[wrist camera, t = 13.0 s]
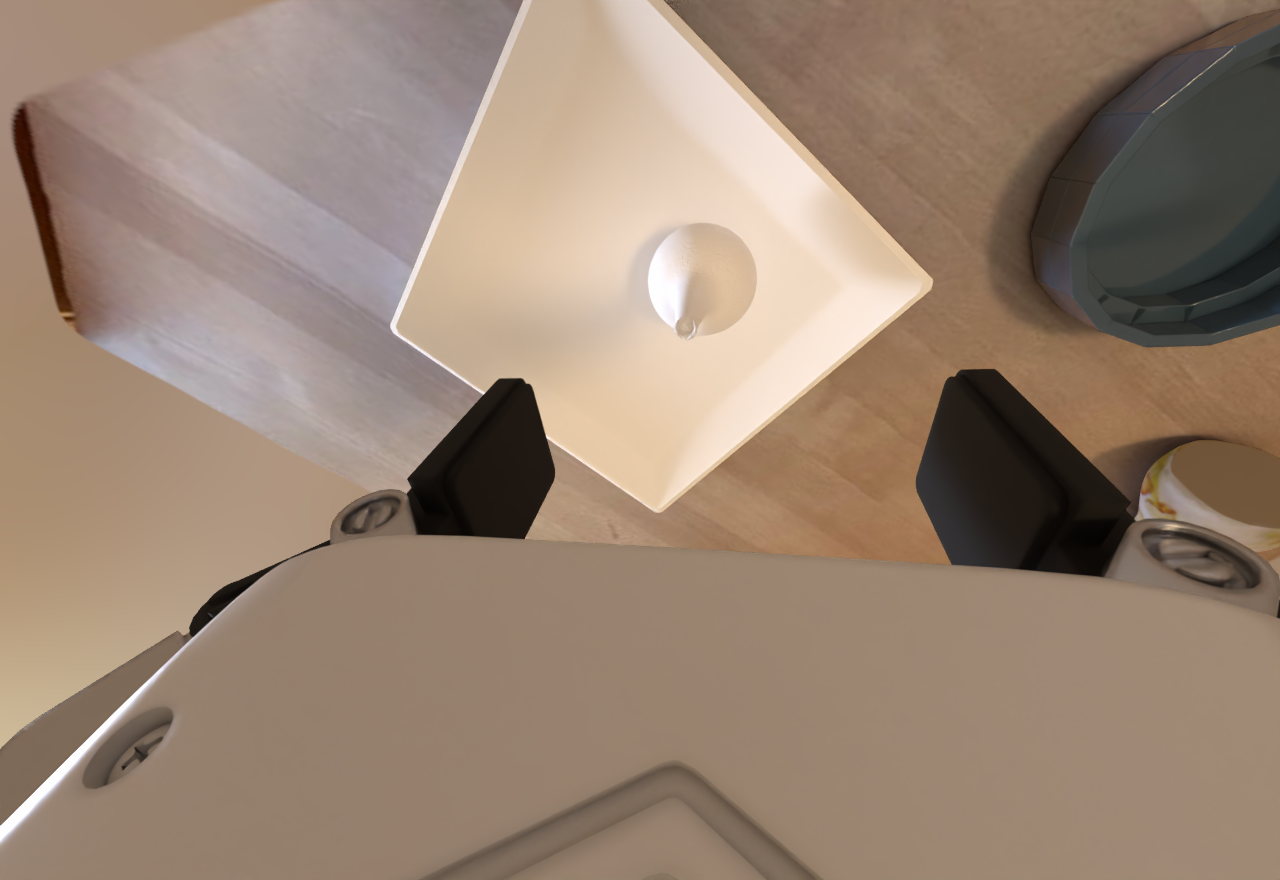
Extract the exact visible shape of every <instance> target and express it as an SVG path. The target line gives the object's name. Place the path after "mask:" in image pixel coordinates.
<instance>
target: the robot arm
mask: <svg viewBox="0 0 1280 880" xmlns="http://www.w3.org/2000/svg"><path fill="white" fill-rule="evenodd" d="M554 478H555V467H554V463H553V460H552V456H551V452H550V449H549V445H548V441H547V438H546V434H545V431H544V427H543V423H542V420H541V416H540V412H539V409H538V405H537V401H536V398H535V394H534V390H533V388H532V386H531V385H530V384H526V382H525V381H524V379H522V378H499V379H498V380H497V381H496V382H495V383H494V384H493V385H492V386H491V387H490V388H489V389H488V391H487V392H486V393H485V394H484V395H483V396H482V397H481V398H480V399H479V400H478V402H477V403H476V404H475V405H474V406H473V407H472V408H471V409H470V410H469V411H468V413H467V414H466V415H465V416H464V417H463V418H462V419H461V420H460V421H459V422H458V423H457V425H456V426H455V427H454V428H453V429H452V430H451V431H450V432H449V433H448V434H447V436H446V437H445V438H444V439H443V440H442V441H441V442H440V443H439V444H438V445H437V447H436V448H435V449H434V450H433V451H432V452H431V453H430V454H429V455H428V456H427V458H426V459H425V460H424V461H423V462H422V463H421V464H420V465H419V466H418V467H417V469H416V470H415V471H414V472H413V473H412V474H411V475H410V476H409V477H408V478H407V480H408V482H409V483H410V485H411V487H412V488H411V489H410V490H409V492H408V493H407V494H406V493H404V492H402V491H400V490H394V489H388V490H380V491H377V492H373V493H370V494H368V495H365V496H363V497H361V498H359V499H357V500H355V501H354V502H352V503H351V504H349V505H347V506H346V507H345V508H344V509H343V510H342V511H341V512H339V513H338V515H337V516H336V517H335V519H334V520H333V522H332V525H331V530H330V540H328V541H326V542H324V543H322V544H319V545H317V546H315V547H313V548H310V549H308V550H306V551H304V552H301V553H299V554H297V555H295V556H292V557H290V558H288V559H286V560H284V561H281V562H279V563H277V564H275V565H273V566H270V567H268V568H266V569H264V570H261V571H259V572H257V573H255V574H252V575H250V576H248V577H245V578H243V579H241V580H239V581H236V582H233V583H231V584H228V585H227V586H225V587H223V588H222V589H220V590H219V591H217V592H216V593H215V594H214V595H213V596H212V597H211V598H210V599H209V600H208V601H207V603H205V604H204V605H203V606H202V607H201V608H200V610H199V611H198V613H197V614H196V615H195V616H194V617H193V620H192V622H191V625H190V627H189V629H190V632H189V633H188V634H186V635H184V636H183V635H182V634H181V633H180V632H179V631H176V632H175V633H173V634H171V635H170V636H168V637H166V638H165V639H163V640H162V641H160V642H159V643H157V644H155V645H154V646H152V647H150V648H149V649H147V650H145V651H144V652H142V653H141V654H139V655H138V656H136V657H134V658H133V659H131V660H129V661H128V662H126V663H125V664H123V665H121V666H120V667H118V668H117V669H115V670H113V671H112V672H110V673H108V674H107V675H105V676H104V677H102V678H100V679H99V680H97V681H96V682H94V683H92V684H91V685H89V686H88V687H86V688H84V689H83V690H81V691H79V692H78V693H76V694H75V695H73V696H71V697H70V698H68V699H66V700H65V701H63V702H62V703H60V704H58V705H57V706H55V707H54V708H52V709H50V710H49V711H47V712H45V713H44V714H42V715H41V716H39V717H38V718H37V719H35V720H34V721H32V722H31V723H30V724H28V725H27V726H25V727H24V728H22V729H21V730H20V731H19V732H18V733H17V734H15V735H14V736H13V737H12V738H11V739H10V740H9V741H8V742H7V743H6V744H5V745H4V746H3V747H2V748H1V749H0V880H1280V600H1279V598H1280V580H1279V576H1278V574H1277V573H1276V571H1275V570H1274V569H1273V568H1272V567H1271V565H1270V564H1269V563H1268V562H1267V561H1266V560H1265V559H1263V558H1262V557H1261V556H1259V555H1258V554H1257V553H1255V552H1254V551H1253V550H1251V549H1250V548H1248V547H1246V546H1245V545H1243V544H1241V543H1239V542H1237V541H1236V540H1234V539H1232V538H1230V537H1228V536H1225V535H1223V534H1221V533H1218V532H1216V531H1213V530H1211V529H1208V528H1205V527H1202V526H1198V525H1195V524H1191V523H1188V522H1184V521H1178V520H1171V519H1165V518H1148V519H1143V520H1139V521H1136V520H1135V519H1134V518H1133V517H1132V516H1131V515H1130V514H1129V513H1128V512H1127V511H1126V509H1127V507H1128V506H1129V504H1130V503H1131V502H1130V501H1129V500H1128V499H1127V498H1126V497H1125V496H1124V495H1123V494H1122V493H1121V492H1120V491H1119V490H1118V489H1117V488H1116V487H1115V486H1114V485H1113V484H1112V483H1111V482H1110V481H1109V480H1108V479H1107V478H1106V477H1105V476H1104V475H1103V474H1102V473H1101V472H1100V471H1099V470H1098V469H1097V468H1096V467H1095V466H1094V465H1093V464H1092V463H1091V462H1090V461H1089V460H1088V459H1087V458H1086V457H1085V456H1084V455H1083V454H1081V453H1080V452H1079V451H1078V450H1077V449H1076V448H1075V447H1074V446H1073V445H1072V444H1071V443H1070V442H1069V441H1068V440H1067V439H1066V438H1065V437H1064V436H1063V435H1062V434H1061V433H1060V432H1059V431H1058V430H1057V429H1056V428H1055V427H1054V426H1053V425H1052V424H1051V423H1050V422H1049V421H1048V420H1047V419H1046V418H1045V417H1044V416H1043V415H1042V414H1041V413H1040V412H1039V411H1038V410H1037V409H1036V408H1035V407H1034V406H1033V405H1032V404H1031V403H1030V402H1029V401H1028V400H1026V399H1025V398H1024V397H1023V396H1022V395H1021V394H1020V393H1019V392H1018V391H1017V390H1016V389H1015V388H1014V387H1013V386H1012V385H1011V384H1010V383H1009V382H1008V381H1007V380H1006V379H1005V378H1004V377H1003V376H1002V375H1001V374H1000V373H999V372H998V371H997V370H995V369H971V370H960V371H959V372H958V373H957V374H956V376H955V377H949V378H948V379H947V380H946V382H945V385H944V388H943V391H942V394H941V398H940V401H939V404H938V408H937V411H936V414H935V417H934V421H933V424H932V427H931V430H930V434H929V437H928V440H927V443H926V447H925V450H924V453H923V457H922V460H921V463H920V466H919V470H918V473H917V477H916V489H917V493H918V495H919V497H920V499H921V501H922V503H923V505H924V507H925V510H926V512H927V514H928V516H929V518H930V520H931V522H932V524H933V526H934V528H935V531H936V533H937V535H938V537H939V539H940V541H941V543H942V545H943V547H944V549H945V551H946V554H947V556H948V558H949V560H950V562H951V564H952V565H946V564H931V563H915V562H900V561H884V560H868V559H853V558H837V557H820V556H804V555H787V554H770V553H754V552H737V551H721V550H704V549H687V548H670V547H652V546H635V545H618V544H601V543H585V542H567V541H548V540H530V539H525V537H526V535H527V533H528V531H529V529H530V527H531V525H532V523H533V521H534V519H535V517H536V515H537V513H538V511H539V509H540V507H541V505H542V503H543V501H544V499H545V497H546V495H547V493H548V491H549V489H550V487H551V485H552V483H553V481H554Z"/></svg>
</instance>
